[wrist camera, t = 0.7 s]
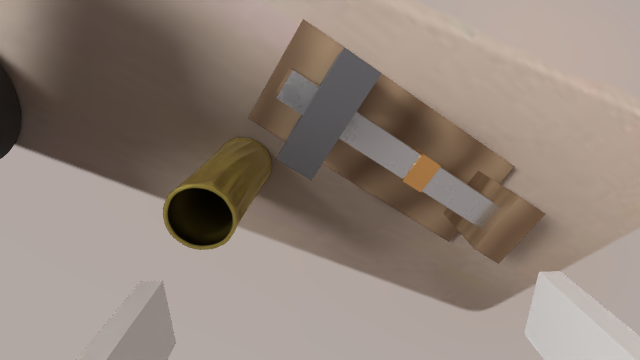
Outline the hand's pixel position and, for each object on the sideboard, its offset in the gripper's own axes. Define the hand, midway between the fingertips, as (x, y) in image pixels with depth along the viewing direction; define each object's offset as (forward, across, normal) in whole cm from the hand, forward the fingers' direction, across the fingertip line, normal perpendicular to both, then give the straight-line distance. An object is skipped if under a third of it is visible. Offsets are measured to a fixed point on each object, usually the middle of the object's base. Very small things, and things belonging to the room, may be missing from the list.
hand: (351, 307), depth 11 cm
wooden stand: (+25, +6, +1) cm, 26 cm away
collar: (+23, 0, +5) cm, 24 cm away
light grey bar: (+20, +6, +1) cm, 21 cm away
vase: (+26, -9, -2) cm, 27 cm away
